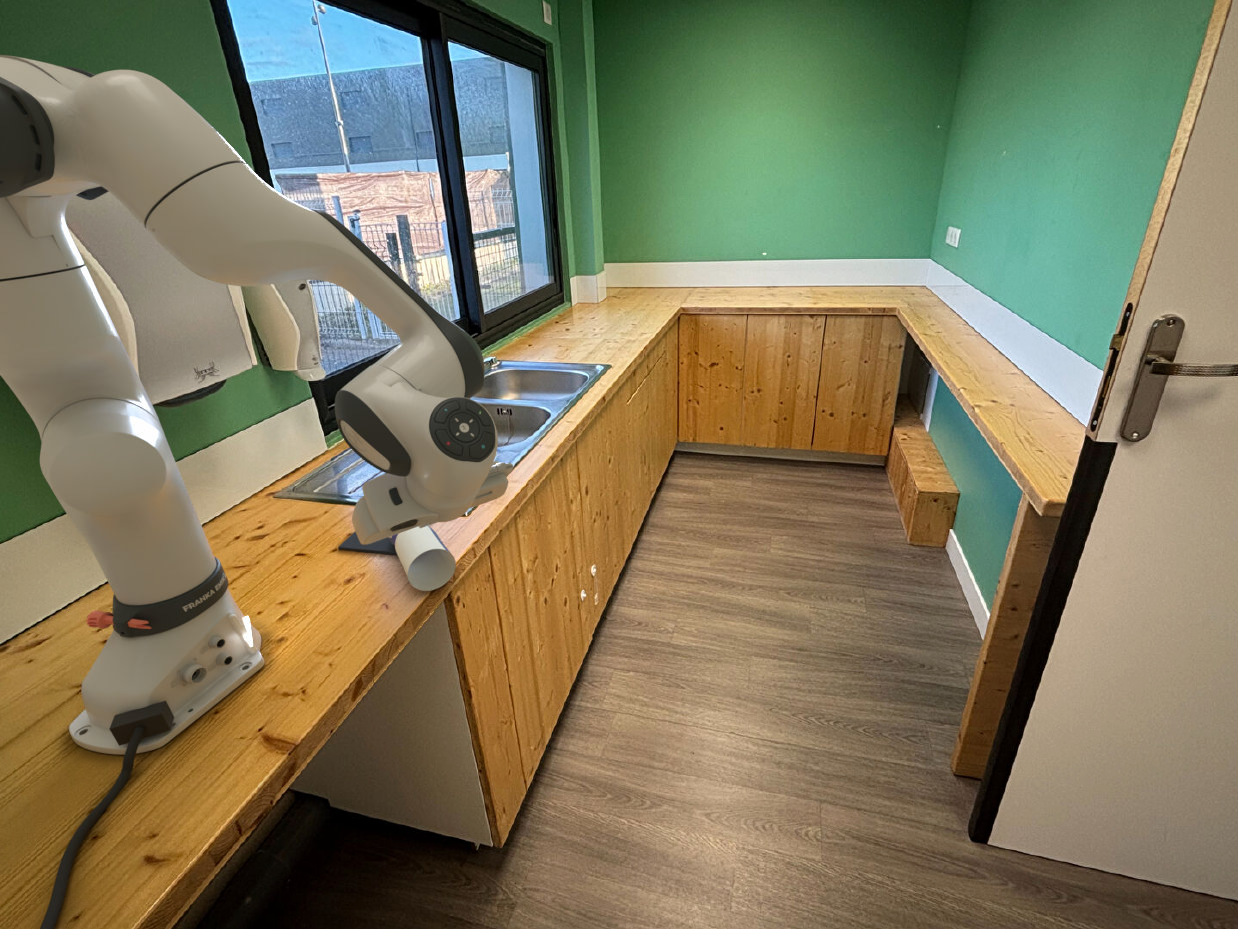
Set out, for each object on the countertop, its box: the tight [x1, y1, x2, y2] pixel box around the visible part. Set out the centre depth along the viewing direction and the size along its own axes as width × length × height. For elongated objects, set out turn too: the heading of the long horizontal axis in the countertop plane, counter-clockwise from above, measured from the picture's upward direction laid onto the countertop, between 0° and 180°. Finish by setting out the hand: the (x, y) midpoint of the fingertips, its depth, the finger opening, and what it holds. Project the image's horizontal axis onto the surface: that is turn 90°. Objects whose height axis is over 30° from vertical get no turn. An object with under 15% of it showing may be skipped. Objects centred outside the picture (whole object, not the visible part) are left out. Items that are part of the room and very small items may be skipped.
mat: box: [337, 531, 398, 556], centre depth 113 cm, size 12×12×1 cm
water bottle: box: [388, 525, 457, 592], centre depth 105 cm, size 8×9×25 cm
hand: (427, 520), depth 86 cm, fingers closed
